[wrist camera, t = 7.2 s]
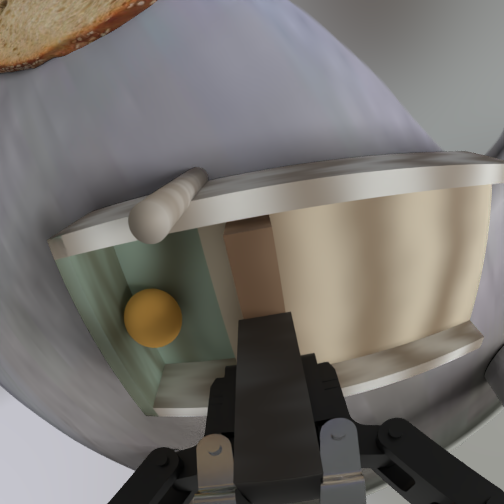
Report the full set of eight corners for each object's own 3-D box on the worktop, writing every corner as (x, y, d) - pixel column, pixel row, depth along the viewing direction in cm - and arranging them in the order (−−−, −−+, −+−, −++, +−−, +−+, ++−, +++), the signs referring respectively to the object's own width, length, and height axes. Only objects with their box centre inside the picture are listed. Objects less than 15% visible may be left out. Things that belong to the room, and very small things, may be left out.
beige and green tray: (465, 138, 15) (555, 159, 7) (448, 320, 22) (495, 381, 14) (88, 198, 17) (0, 249, 8) (163, 375, 23) (142, 456, 15)
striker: (272, 207, 14) (326, 390, 4) (296, 371, 19) (319, 513, 9) (223, 216, 14) (173, 406, 4) (262, 376, 19) (269, 520, 9)
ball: (157, 310, 15) (103, 311, 15) (180, 361, 16) (129, 358, 17) (179, 274, 18) (131, 280, 19) (196, 322, 20) (149, 323, 20)
